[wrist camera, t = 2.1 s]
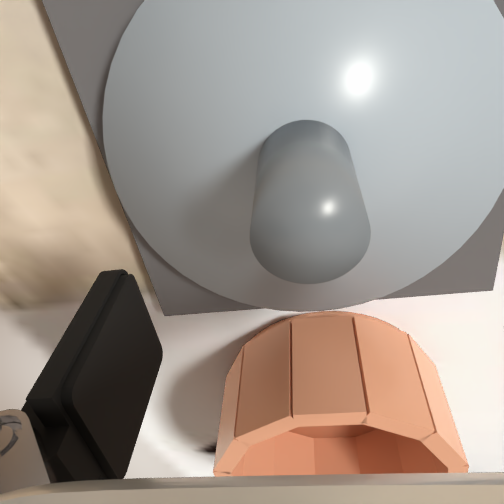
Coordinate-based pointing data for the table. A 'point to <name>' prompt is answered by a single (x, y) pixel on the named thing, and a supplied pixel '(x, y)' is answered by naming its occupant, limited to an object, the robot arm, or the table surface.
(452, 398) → the table surface
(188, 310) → the mat
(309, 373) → the bowl
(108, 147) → the lid
